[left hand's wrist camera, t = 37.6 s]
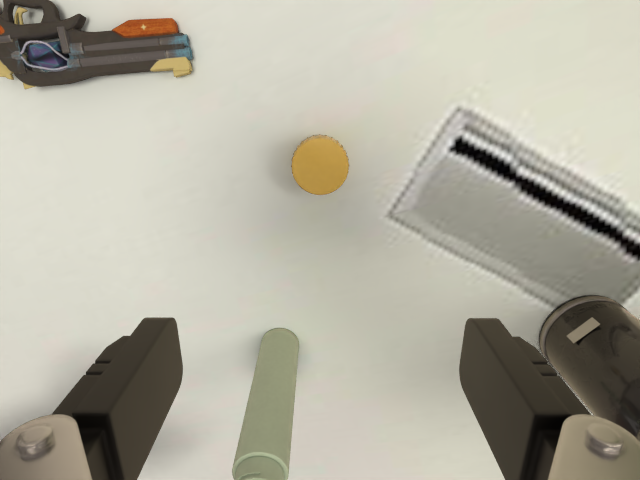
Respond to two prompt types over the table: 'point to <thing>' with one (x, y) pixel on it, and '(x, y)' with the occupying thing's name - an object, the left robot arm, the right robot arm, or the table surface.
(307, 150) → the lid
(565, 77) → the table surface
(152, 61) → the toy gun
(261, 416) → the jar
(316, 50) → the table surface
